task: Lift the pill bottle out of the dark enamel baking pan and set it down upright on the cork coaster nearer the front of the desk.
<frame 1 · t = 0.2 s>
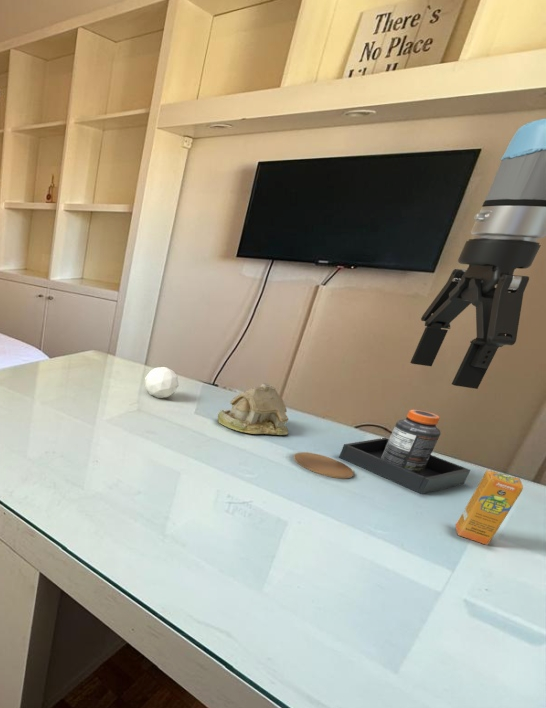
hand: (440, 374, 75), 20 cm above the table, tool pointing down, fingers open, 13 cm apart
supplement box: (470, 537, 67), on the table
pill bottle: (399, 469, 85), resting on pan
coaster: (322, 465, 85), on the table
geometric ball: (157, 397, 115), on the table
ceramic model: (251, 427, 101), on the table
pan: (398, 470, 85), on the table
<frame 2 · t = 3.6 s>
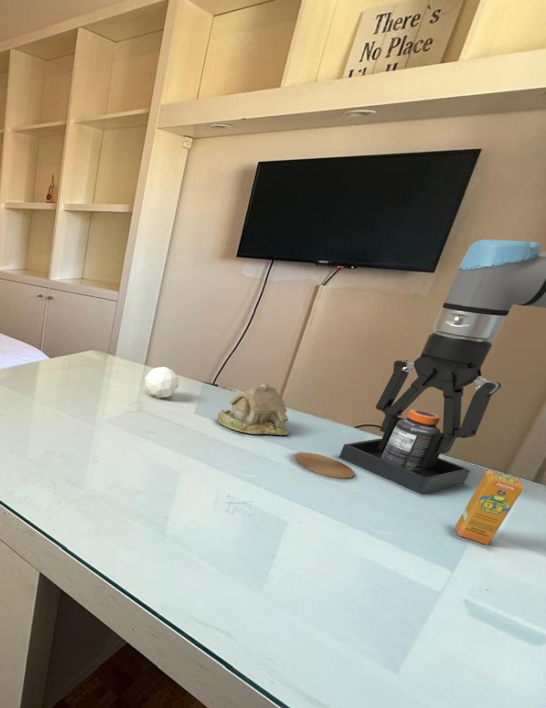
hand: (404, 457, 84), 3 cm above the table, tool pointing down, fingers closed on pill bottle, 6 cm apart
pill bottle: (399, 469, 85), resting on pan, touching gripper
everything else where it was.
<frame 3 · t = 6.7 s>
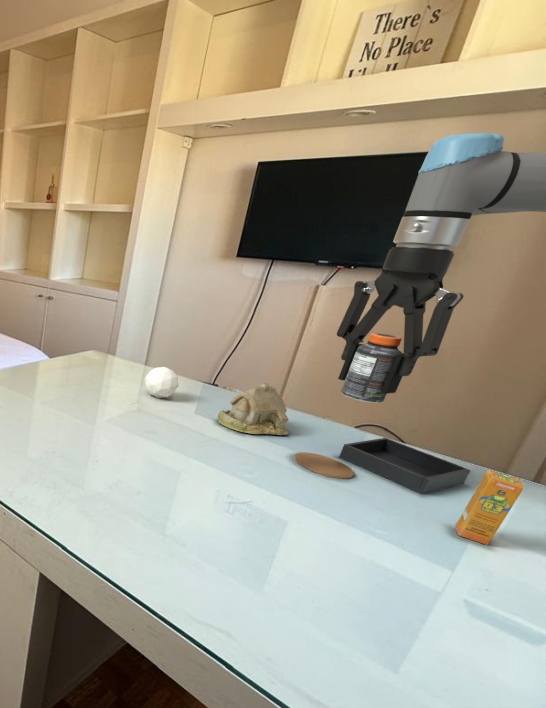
hand: (365, 385, 79), 16 cm above the table, tool pointing down, fingers closed on pill bottle, 6 cm apart
pill bottle: (360, 398, 80), point 14 cm above the table, touching gripper
everything else where it was.
when the fingers open (3 cm above the table, at t = 10.1 s): pill bottle stays where it is, resting on coaster.
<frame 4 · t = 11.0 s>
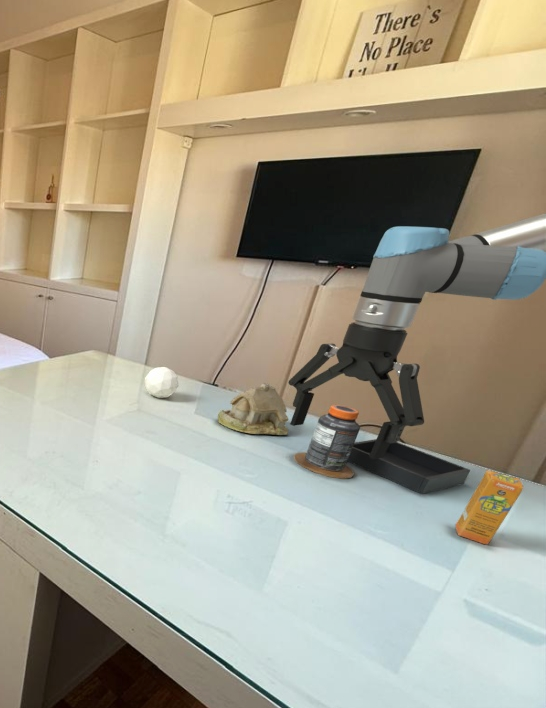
hand: (333, 439, 83), 5 cm above the table, tool pointing down, fingers open, 13 cm apart
pill bottle: (322, 464, 85), resting on coaster
everything else where it was.
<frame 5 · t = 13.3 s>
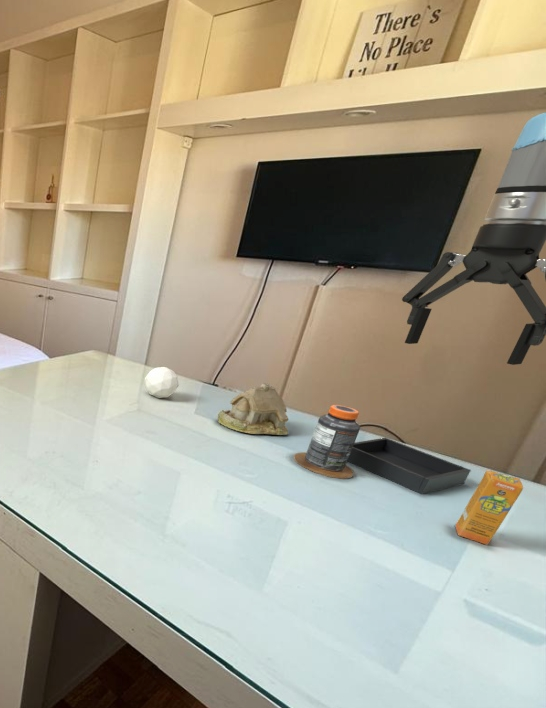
hand: (458, 352, 79), 23 cm above the table, tool pointing down, fingers open, 13 cm apart
nothing on the table moved.
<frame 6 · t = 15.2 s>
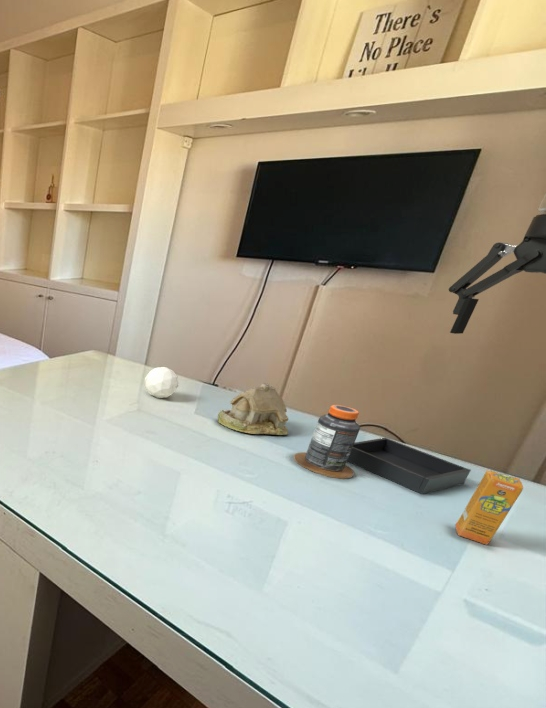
hand: (505, 342, 80), 25 cm above the table, tool pointing down, fingers open, 13 cm apart
nothing on the table moved.
at the end: pill bottle 0.0 cm off-centre on the coaster, point 0.2 cm above the coaster's base; pill bottle tilted 0°; the gripper is holding nothing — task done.
